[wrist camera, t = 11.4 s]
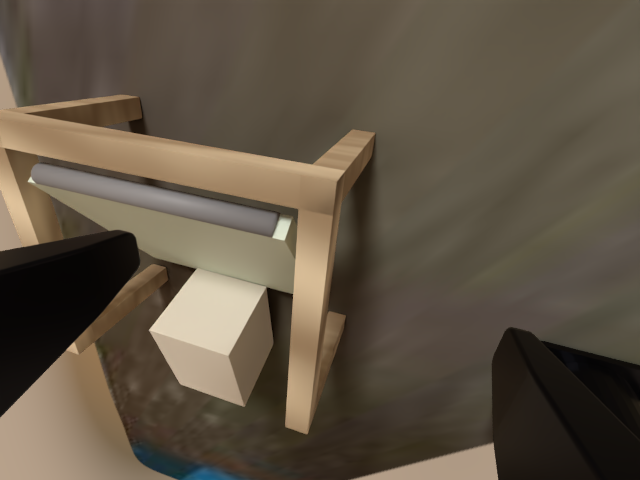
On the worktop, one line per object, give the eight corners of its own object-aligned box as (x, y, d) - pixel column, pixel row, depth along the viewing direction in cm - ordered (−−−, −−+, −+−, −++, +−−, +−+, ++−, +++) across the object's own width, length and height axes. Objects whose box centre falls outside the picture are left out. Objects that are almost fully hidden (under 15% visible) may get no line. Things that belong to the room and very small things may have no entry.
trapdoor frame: (122, 94, 21) (-30, 113, 14) (375, 132, 18) (336, 181, 11) (155, 276, 27) (62, 348, 21) (343, 328, 24) (307, 434, 17)
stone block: (228, 355, 19) (244, 406, 24) (266, 286, 22) (273, 343, 27) (149, 330, 20) (180, 384, 25) (197, 267, 23) (216, 325, 28)
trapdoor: (30, 155, 15) (16, 175, 15) (290, 210, 12) (281, 235, 12) (160, 244, 25) (154, 257, 24) (322, 285, 22) (318, 300, 22)
